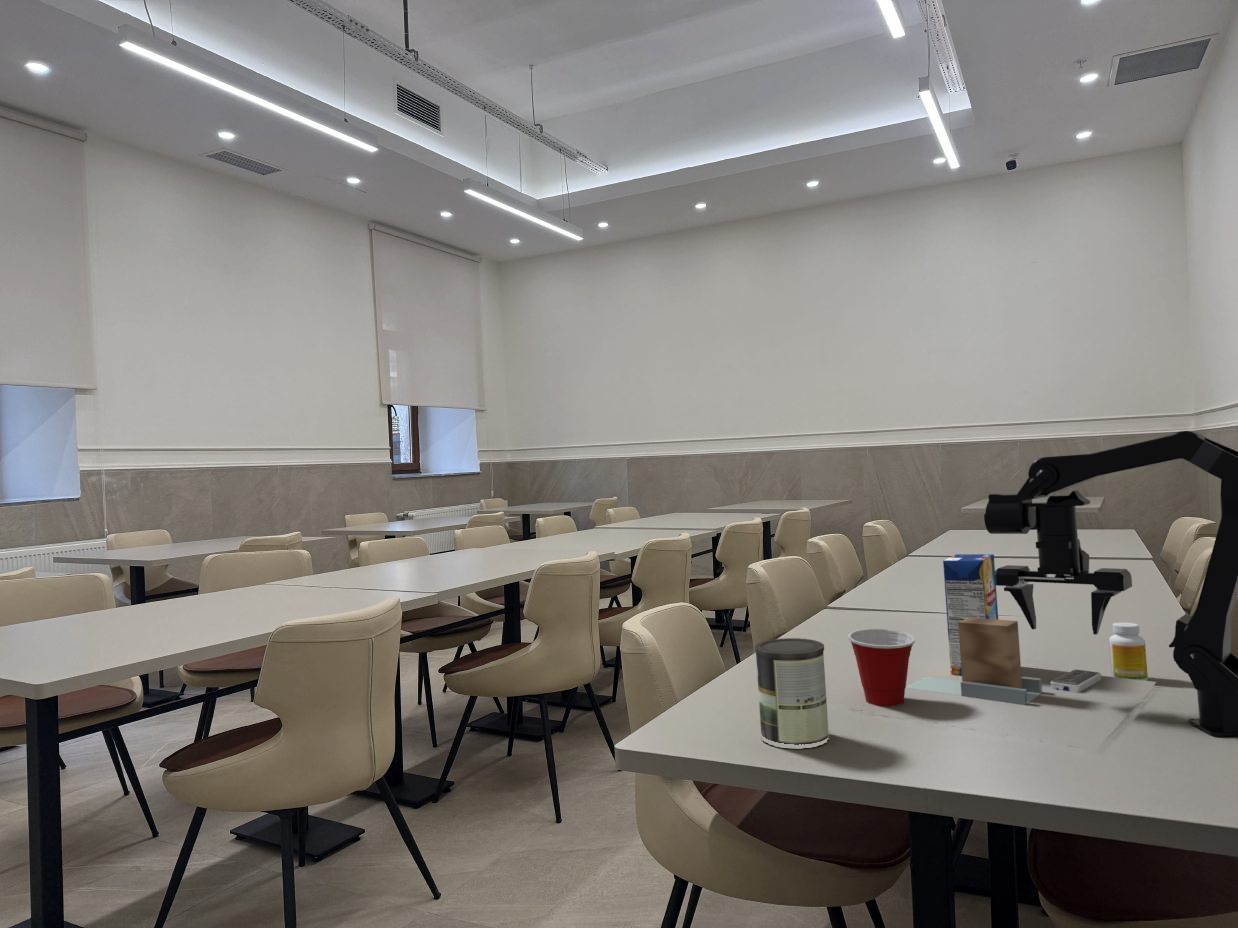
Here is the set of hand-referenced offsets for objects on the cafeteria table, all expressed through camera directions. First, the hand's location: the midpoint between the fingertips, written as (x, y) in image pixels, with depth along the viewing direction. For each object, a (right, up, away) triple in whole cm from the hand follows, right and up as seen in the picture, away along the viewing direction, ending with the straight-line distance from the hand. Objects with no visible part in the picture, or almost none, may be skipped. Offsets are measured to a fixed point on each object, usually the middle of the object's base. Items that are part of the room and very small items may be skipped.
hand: (1064, 631), depth 127 cm
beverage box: (-4, -13, +23) cm, 26 cm away
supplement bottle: (+19, -11, +13) cm, 26 cm away
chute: (-11, -13, +10) cm, 19 cm away
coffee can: (-45, -15, -7) cm, 48 cm away
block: (-8, -12, +7) cm, 16 cm away
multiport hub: (+8, -12, +10) cm, 18 cm away
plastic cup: (-27, -14, +6) cm, 31 cm away
